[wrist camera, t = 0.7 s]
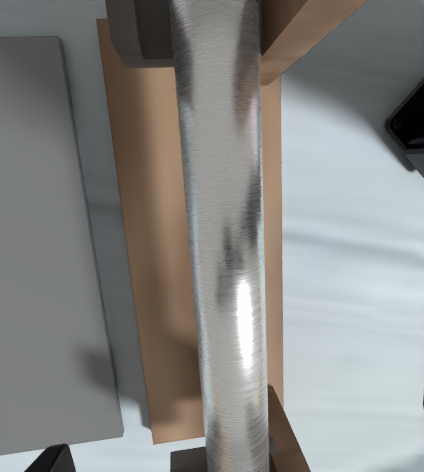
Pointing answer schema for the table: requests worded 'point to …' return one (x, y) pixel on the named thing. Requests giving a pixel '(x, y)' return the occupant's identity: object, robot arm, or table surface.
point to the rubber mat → (47, 265)
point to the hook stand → (174, 207)
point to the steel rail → (225, 221)
